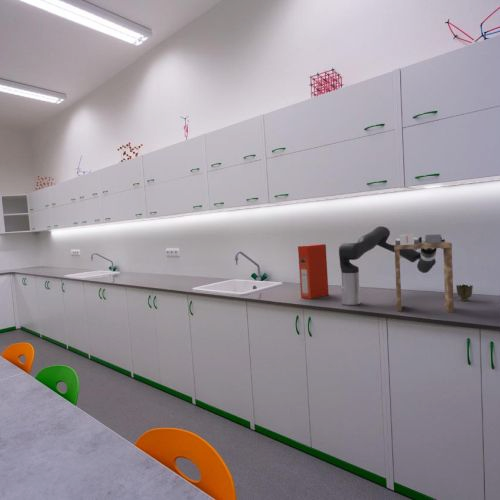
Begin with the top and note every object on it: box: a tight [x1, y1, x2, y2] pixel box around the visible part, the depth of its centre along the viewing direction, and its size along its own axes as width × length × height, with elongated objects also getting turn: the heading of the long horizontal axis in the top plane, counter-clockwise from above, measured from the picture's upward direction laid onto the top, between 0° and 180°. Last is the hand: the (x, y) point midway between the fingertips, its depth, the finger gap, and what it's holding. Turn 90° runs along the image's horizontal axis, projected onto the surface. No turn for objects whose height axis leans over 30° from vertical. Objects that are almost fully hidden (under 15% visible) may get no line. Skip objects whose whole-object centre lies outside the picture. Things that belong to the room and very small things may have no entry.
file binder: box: [297, 243, 330, 300], centre depth 222 cm, size 8×17×32 cm, turn 131°
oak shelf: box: [393, 241, 455, 314], centre depth 173 cm, size 24×13×32 cm, turn 68°
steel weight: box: [424, 233, 442, 244], centre depth 175 cm, size 6×20×4 cm, turn 158°
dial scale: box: [394, 233, 419, 245], centre depth 174 cm, size 10×13×5 cm
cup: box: [455, 284, 474, 302], centre depth 186 cm, size 8×7×8 cm
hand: (430, 237), depth 181 cm, fingers open, 8 cm apart
